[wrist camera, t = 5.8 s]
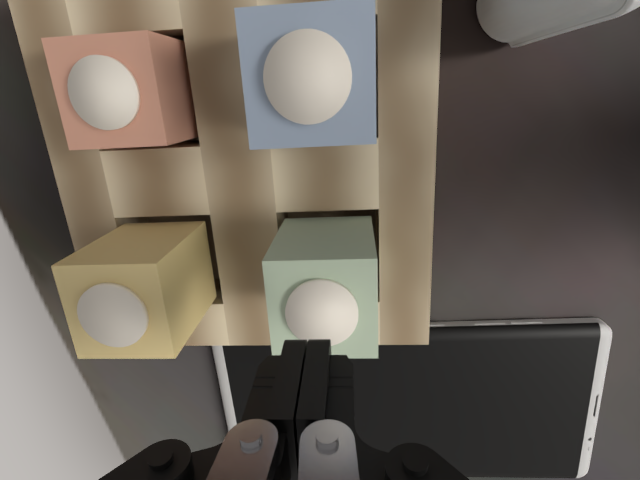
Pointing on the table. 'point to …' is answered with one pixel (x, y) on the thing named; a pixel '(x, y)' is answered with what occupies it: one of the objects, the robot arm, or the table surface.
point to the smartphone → (471, 393)
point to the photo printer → (544, 17)
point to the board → (256, 158)
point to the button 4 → (324, 284)
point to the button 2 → (137, 290)
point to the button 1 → (121, 89)
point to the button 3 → (308, 73)
